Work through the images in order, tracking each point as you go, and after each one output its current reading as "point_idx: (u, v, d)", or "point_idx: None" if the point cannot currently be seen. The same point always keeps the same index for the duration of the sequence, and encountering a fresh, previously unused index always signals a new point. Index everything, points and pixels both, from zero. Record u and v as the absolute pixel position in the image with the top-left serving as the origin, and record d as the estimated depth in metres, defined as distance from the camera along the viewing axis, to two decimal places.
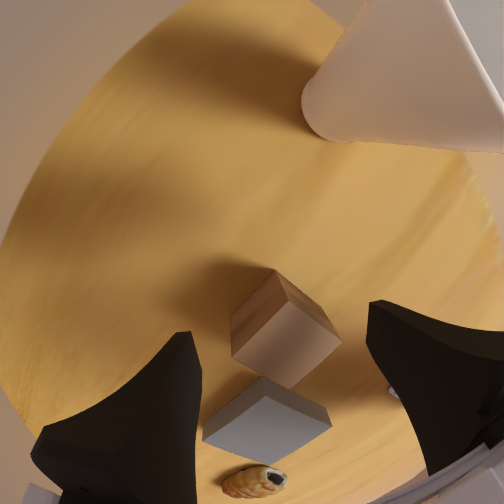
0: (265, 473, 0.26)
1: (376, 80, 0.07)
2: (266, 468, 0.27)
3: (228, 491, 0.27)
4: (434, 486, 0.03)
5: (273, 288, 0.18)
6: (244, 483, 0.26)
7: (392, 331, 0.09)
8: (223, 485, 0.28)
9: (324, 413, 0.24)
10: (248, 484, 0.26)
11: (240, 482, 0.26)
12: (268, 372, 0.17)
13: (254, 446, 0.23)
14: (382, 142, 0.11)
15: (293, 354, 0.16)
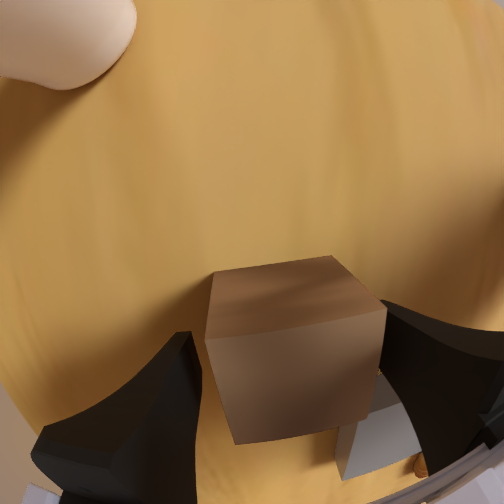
0: None
1: None
2: None
3: (423, 476, 0.18)
4: (434, 486, 0.03)
5: None
6: None
7: (392, 332, 0.09)
8: (415, 472, 0.19)
9: None
10: None
11: None
12: (308, 427, 0.08)
13: (404, 448, 0.14)
14: (26, 2, 0.02)
15: (316, 391, 0.08)
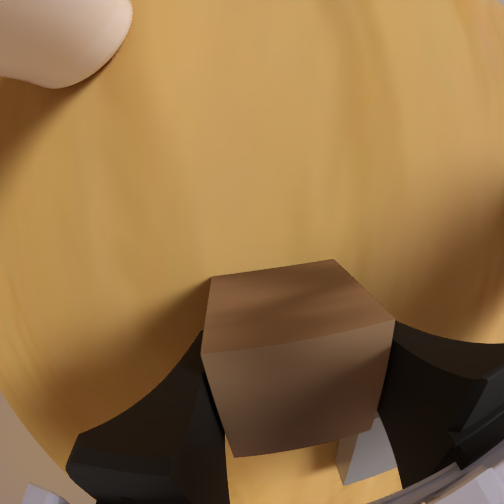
0: None
1: None
2: None
3: None
4: (434, 486, 0.03)
5: None
6: None
7: None
8: None
9: None
10: None
11: None
12: (310, 440, 0.08)
13: None
14: None
15: (319, 404, 0.07)
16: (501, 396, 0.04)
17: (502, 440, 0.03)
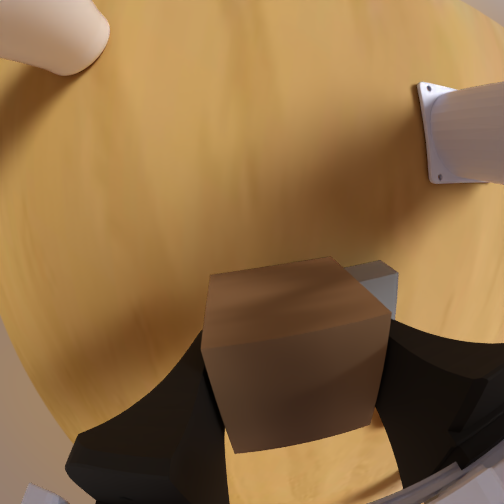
0: None
1: None
2: None
3: None
4: (434, 486, 0.03)
5: None
6: None
7: None
8: None
9: (378, 267, 0.18)
10: None
11: None
12: (310, 435, 0.08)
13: None
14: (50, 28, 0.07)
15: (318, 398, 0.07)
16: (501, 396, 0.04)
17: (502, 440, 0.03)
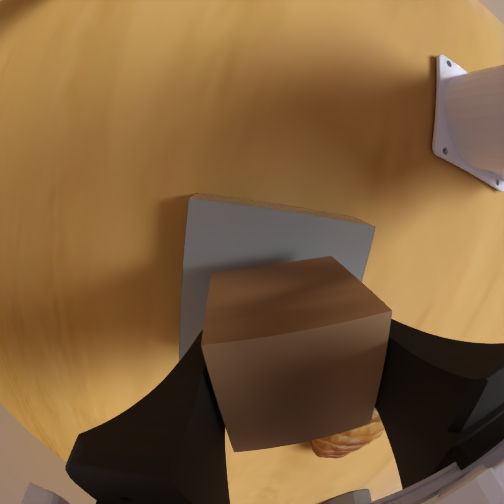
0: None
1: None
2: None
3: (321, 451, 0.19)
4: (434, 486, 0.03)
5: None
6: None
7: None
8: (312, 445, 0.20)
9: (351, 218, 0.14)
10: None
11: None
12: (309, 434, 0.08)
13: None
14: None
15: (318, 396, 0.07)
16: (501, 396, 0.04)
17: (502, 440, 0.03)
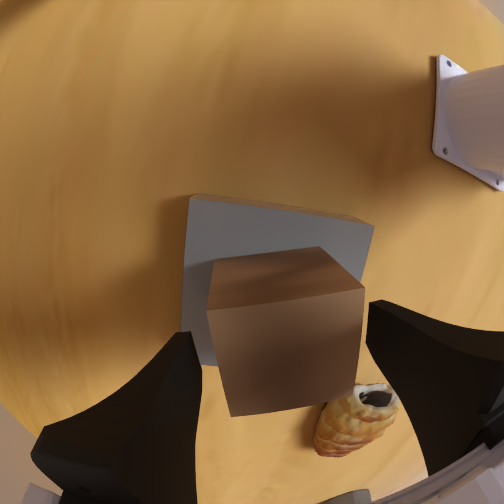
0: (354, 396, 0.18)
1: None
2: None
3: (323, 451, 0.19)
4: (434, 487, 0.03)
5: None
6: (334, 428, 0.18)
7: (392, 332, 0.09)
8: (314, 445, 0.20)
9: (349, 218, 0.14)
10: (339, 426, 0.18)
11: (327, 429, 0.18)
12: (298, 400, 0.10)
13: None
14: None
15: (304, 362, 0.09)
16: None
17: None
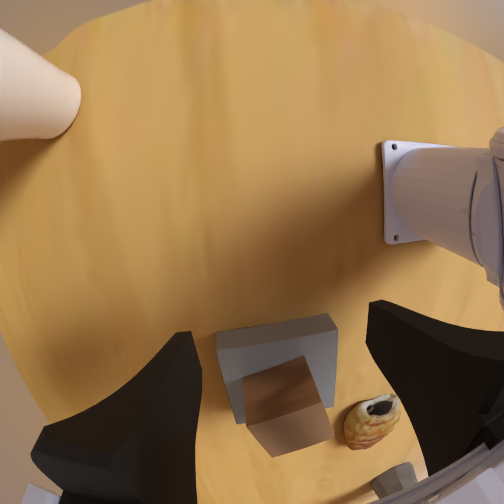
0: (362, 411, 0.24)
1: None
2: (360, 405, 0.25)
3: (353, 447, 0.26)
4: (434, 486, 0.03)
5: None
6: (353, 433, 0.24)
7: (392, 332, 0.09)
8: (347, 443, 0.27)
9: (322, 321, 0.21)
10: (356, 431, 0.24)
11: (350, 434, 0.25)
12: (304, 445, 0.16)
13: None
14: (19, 119, 0.09)
15: (300, 432, 0.16)
16: None
17: None
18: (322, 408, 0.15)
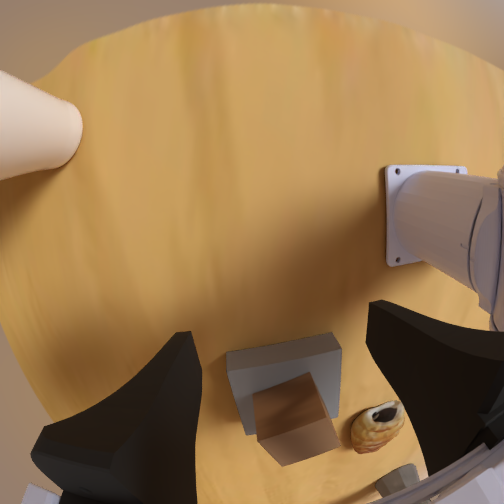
0: (368, 418, 0.25)
1: None
2: (366, 412, 0.25)
3: (360, 451, 0.26)
4: (434, 486, 0.03)
5: None
6: (360, 439, 0.25)
7: (392, 332, 0.09)
8: (354, 447, 0.27)
9: (327, 340, 0.21)
10: (362, 437, 0.24)
11: (356, 440, 0.25)
12: (312, 454, 0.17)
13: None
14: (21, 160, 0.10)
15: (308, 443, 0.16)
16: None
17: None
18: (327, 422, 0.16)
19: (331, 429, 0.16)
